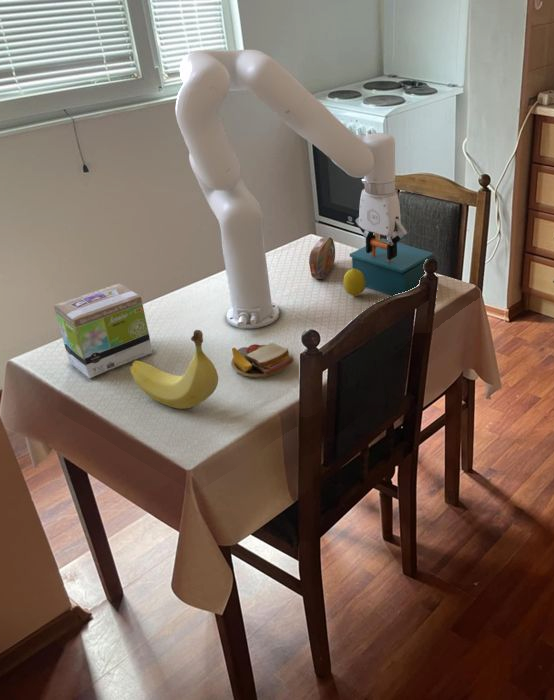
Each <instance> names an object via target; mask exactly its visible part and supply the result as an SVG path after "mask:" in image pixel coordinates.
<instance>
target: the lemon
mask: <svg viewBox="0 0 554 700" xmlns="http://www.w3.org/2000/svg"><path fill="white" fill-rule="evenodd" d="M342 281H343V288H344V290H345V292H346V293H347V294H348V295H350V296H353V297H354V298H356V297H357V296H361V294H362V293H363V292H364V290H365V288H366V287H365V278H364V275H363V273H362V272H361V271H359V270H358V269H355V268H351V269H348V270H347V271H346V273H345V274H344V276H343V280H342Z"/></svg>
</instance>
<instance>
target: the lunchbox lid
mask: <svg viewBox="0 0 554 700" xmlns="http://www.w3.org/2000/svg"><path fill="white" fill-rule="evenodd" d="M370 245H372V252H370V253H366V245H365V246H364V247H361V248H359V249H357V250H354V251H353V252H351V253H349V257H350V258H351V259H352V258H356V259H359V260H362V261H365V262H369V263H372V264H375V265H378V266H381V267H385V268H388V269H391V270H394V271H397V272H401V273H404V272H405V271H407V270H409V269H411V268H413V267H414V266H416V265H418V264H420V263H422V262H424V261H425V260H426V259H429V258H431V257H433V256H434V257H435V253H434V252H431V251H428V250H425V249H422V248H417V247H414V246H411V245H407V244H404V243H401V242H398V243H397V256H396V257H394V258H393V259H391V260H388V259H387V245H389V242H388V239H387V238H383V237H382V238H380V239H378V238H376V239H373V238H372V239H371V240H370ZM375 247H376V250H375Z"/></svg>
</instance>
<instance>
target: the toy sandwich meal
mask: <svg viewBox="0 0 554 700" xmlns="http://www.w3.org/2000/svg"><path fill="white" fill-rule="evenodd" d="M231 351H232V356H233V357H232V359H231V362H230V365H231V368H232V369H233V371H235V372H236V373H237V374H240V375H242V376H243V377H247V378H252V379H256V378H257V379H258V378H259V379H260V378H267V377H270V376H273V375H275V374H277V373H279V372H280V371H282V370H284V369H285V368H287V367H288V366H290V365H292V363H294V358H293V356H290V352H289V351H290V350H289V348H287V347H284V346H280V345H278V344H276V343H274V342H271V343H268V344H258V343H257V344H256V343H255V344H251V345H249V346H248V347H247V346H242V347H239V348H238V349H237V348H235V347H232V348H231Z"/></svg>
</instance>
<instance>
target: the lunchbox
mask: <svg viewBox="0 0 554 700" xmlns="http://www.w3.org/2000/svg"><path fill="white" fill-rule="evenodd" d="M431 258H432V259H434V260H435V255H434V256H433V257H431ZM424 262H425V261H424ZM424 262H422V263H420V264H418V265H416V266H414V267H413V268H411V269H409V270H407V271H405V272H404V273H401V272H397V271H394V270H391V269H388V268H385V267H381V266H378V265H375V264H372V263H369V262H365V261H362V260H359V259H356V258H352V257H351V265H352V268H355V269H358V270H359V271H361V272H362V273H363V275H364V278H365V288H368V289H371V290H374V291H377V292H380V293H384V294H386V295H390V296H392V295H395V294H398V293H402V292H405V291H408V290H410V289H412V288H414V287H416V286H417V285H418V284H419V280H420V278H421V277H422V276H423V275H424V274H425V272H424V269H423V264H424ZM352 268H351V269H352Z"/></svg>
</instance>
